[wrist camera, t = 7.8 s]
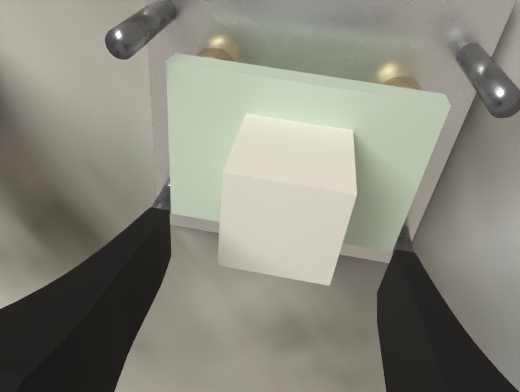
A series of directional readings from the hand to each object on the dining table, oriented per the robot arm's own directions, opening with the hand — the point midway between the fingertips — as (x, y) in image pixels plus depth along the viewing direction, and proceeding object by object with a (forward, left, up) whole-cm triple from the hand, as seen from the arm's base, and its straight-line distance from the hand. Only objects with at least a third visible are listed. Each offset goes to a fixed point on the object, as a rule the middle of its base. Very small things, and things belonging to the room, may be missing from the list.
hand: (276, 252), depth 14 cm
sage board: (0, 0, -5) cm, 5 cm away
